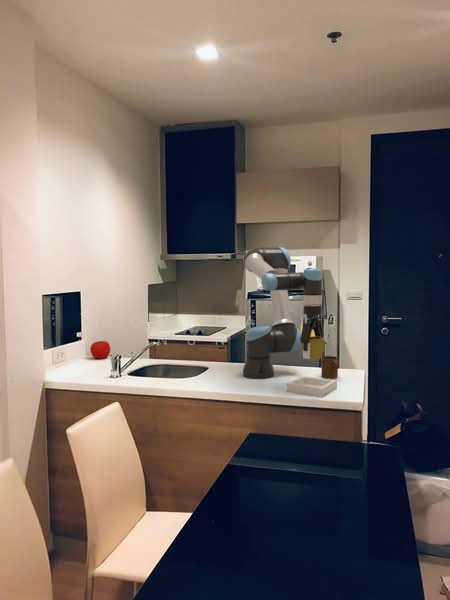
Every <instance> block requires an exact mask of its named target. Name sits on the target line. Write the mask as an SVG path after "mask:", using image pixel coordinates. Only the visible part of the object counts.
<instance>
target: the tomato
mask: <svg viewBox="0 0 450 600" xmlns="http://www.w3.org/2000/svg"><path fill="white" fill-rule="evenodd" d="M89 350H90V353H91V355H92V357H93V358H94V359H99V360H102V359H106V358H107V357H109V355H110V352H111V345H110V343H109V342H108V341H107V340H106V341H105V340H102V341H101V340H99V341H95V342H92V344H91V345H90V349H89Z"/></svg>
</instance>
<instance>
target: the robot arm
mask: <svg viewBox="0 0 450 600" xmlns="http://www.w3.org/2000/svg"><path fill="white" fill-rule="evenodd" d="M242 259H243V260H242V261H243V266H244V267H245V269H246V270H247V271H248V272H249V273H253V274H255V275H256V277H258V278H259V280H261V282H260V283H261V287H262V289H263V290H264V291H269V292H270V301H271V306H272V307H271V308H272V309H271V310H272V316H273V324H272V325H271V326H269V325H261V326H255V327H250V328H248V329H247V330H246V336H245V340H246V341H245V342H246V343H245V344H246V348H245V350H246V354H245V355H246V359H245V362H244V366H243V369H242V377H245V378H248V379H257V380H258V379H260V380H262V379H269V378H273V377H275V369H274V366H273V363H272V359H271V356H272V354H279V353H291V352H293V353H295V352H296V351H298V350H299V349H300V347H301V343H303V352H302V358H303V360H305V359H306V360H308V359H310V343H309V340H310V337H312V336H311V335H312V332H314V337H315V336H320V337H322V338H324V339H325V337H324V336H325V335H324V329H323V323H322V321H323V320H322V310H323V309H322V308H323V307H322V304H323V303H322V300H323V296H322V293H323V291H322V290H323V288H322V287H323V286H322V285H323V275H322V269H321V268H305V269H303V271H302V272H300V271H299V272H289V269H291V263H292V262H291V261H292V259H291V255H290V253H289V251H288V249H287V248H285V247H279V246H276V247H273V246H272V247H269V246H268V247H266V246H265V247H264V246H263V247H262V246H261V247H260V246H259V247H253V248H251V249H249V250H248V251H247V252H245V254H244V256H243V258H242ZM302 290H303V305H304V306H303V315H306V318H302V319H303V320H302V328H301V329H300V328H299V327H296V323H295V321H293V320H292V314H291V313H292V312H291V306H290V300H289V293H288V292H289V291H302ZM300 337H301V340H300Z"/></svg>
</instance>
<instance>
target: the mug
mask: <svg viewBox="0 0 450 600" xmlns="http://www.w3.org/2000/svg"><path fill="white" fill-rule="evenodd" d="M338 372H339V360H338V357H337V356H333V355H325V356H321V377H322V379H328V378H329V380H334V379H337V378H338V376H339V375H338V374H339V373H338Z"/></svg>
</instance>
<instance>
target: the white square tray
mask: <svg viewBox="0 0 450 600" xmlns="http://www.w3.org/2000/svg"><path fill="white" fill-rule="evenodd" d="M337 384H338V380H336V379H328V378H321V377H313V376H303V375H302V376H300V377H298V378H296V379H294V380H293V379H292V380H291V381H289V382H287V383H286V392H287V393H292V394H297V395H298V394H299V395H307V396H313V397H320V398H324V397H325V396H327V395H328V394H330V393H332V392H334V391H335V390H337V388H338V385H337Z"/></svg>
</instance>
